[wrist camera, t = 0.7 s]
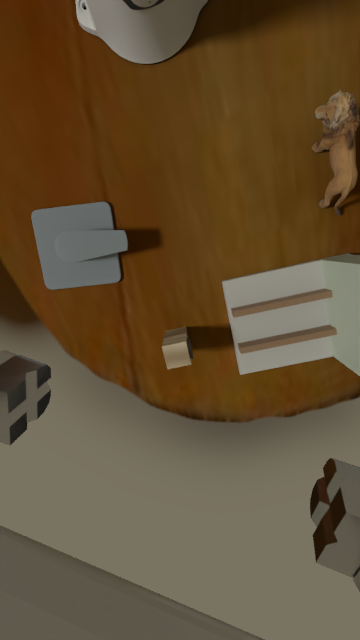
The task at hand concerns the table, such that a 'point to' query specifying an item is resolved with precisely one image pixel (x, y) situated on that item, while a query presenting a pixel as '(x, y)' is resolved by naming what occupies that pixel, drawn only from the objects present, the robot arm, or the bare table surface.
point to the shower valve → (78, 245)
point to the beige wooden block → (177, 348)
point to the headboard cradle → (296, 314)
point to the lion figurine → (339, 144)
